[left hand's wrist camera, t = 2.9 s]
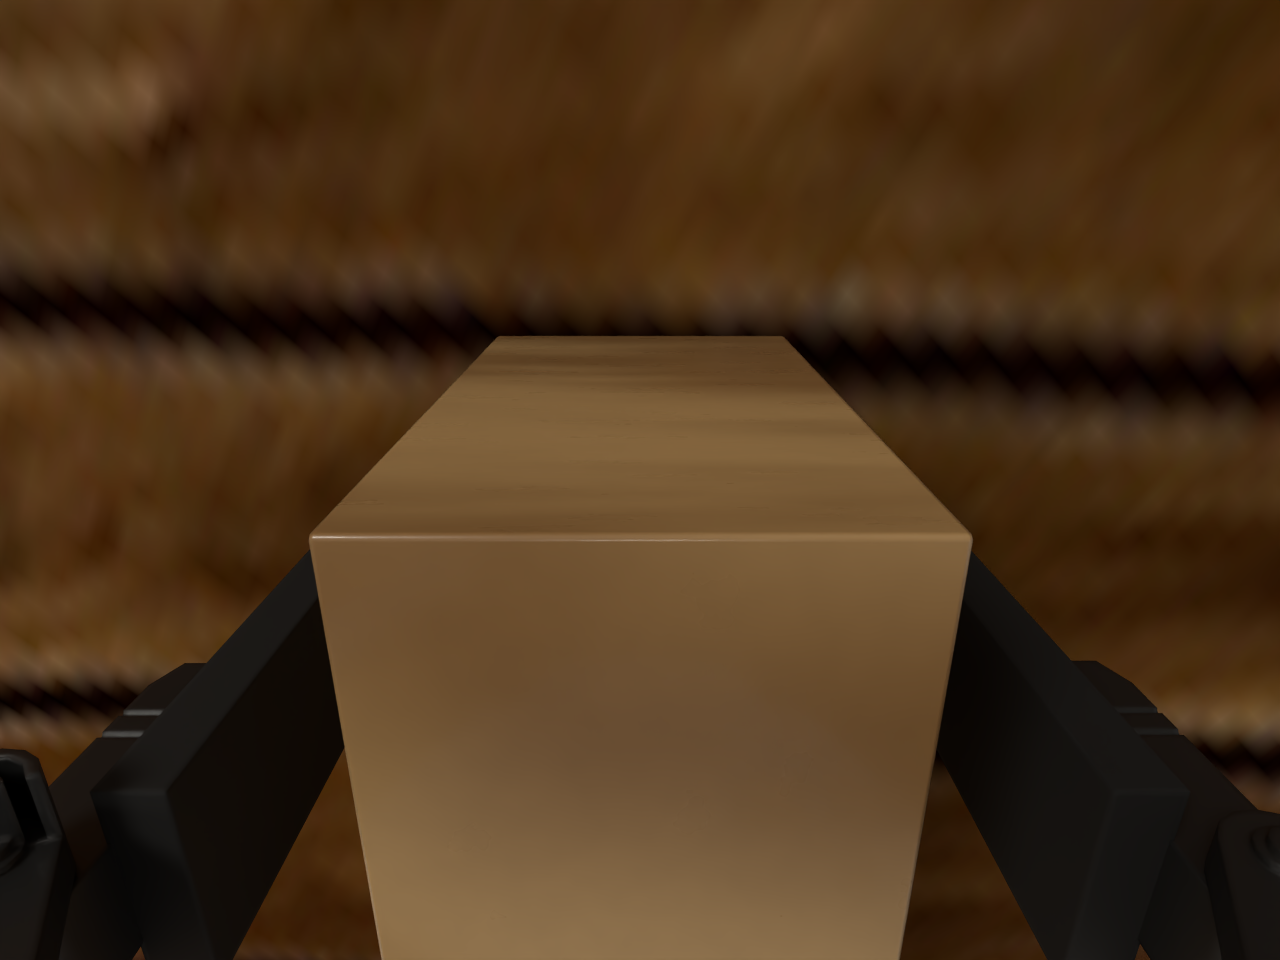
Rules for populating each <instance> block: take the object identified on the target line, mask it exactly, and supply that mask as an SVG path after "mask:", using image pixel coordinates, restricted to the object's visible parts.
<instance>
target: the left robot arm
mask: <svg viewBox="0 0 1280 960" xmlns="http://www.w3.org/2000/svg"><path fill="white" fill-rule="evenodd" d="M344 747H345V746H344V740H343V734H342V729H341V723H340V717H339V711H338V706H337V700H336V694H335V688H334V683H333V677H332V671H331V665H330V660H329V654H328V648H327V642H326V637H325V631H324V625H323V620H322V614H321V608H320V602H319V597H318V591H317V585H316V579H315V574H314V568H313V562H312V556H311V551H310V550H309V551H308V552H307V553H306V554H305V556H304V557H303V558H302V559H301V560H300V561H299V562H298V563H297V564H296V565H295V567H294V568H293V569H292V570H291V571H290V572H289V573H288V574H287V575H286V576H285V577H284V579H283V580H282V581H281V582H280V583H279V584H278V585H277V586H276V587H275V588H274V590H273V591H272V592H271V593H270V594H269V595H268V596H267V597H266V598H265V599H264V601H263V602H262V603H261V604H260V605H259V606H258V607H257V608H256V609H255V610H254V612H253V613H252V614H251V615H250V616H249V617H248V618H247V619H246V620H245V621H244V623H243V624H242V625H241V626H240V627H239V628H238V629H237V630H236V631H235V632H234V634H233V635H232V636H231V637H230V638H229V639H228V640H227V641H226V642H225V643H224V645H223V646H222V647H221V648H220V649H219V650H218V651H217V652H216V653H215V654H214V656H213V657H212V658H211V659H210V660H209V661H208V662H207V663H184V664H183V665H181V666H179V667H178V668H176V669H175V670H173V671H171V672H170V673H168V674H166V675H165V676H163V677H161V678H160V679H158V680H157V681H155V682H153V683H152V684H150V685H149V686H148V687H147V688H146V689H145V690H144V691H143V692H142V693H141V694H140V695H139V696H138V697H137V698H136V699H135V700H134V701H133V702H132V703H131V704H130V705H129V706H128V707H127V708H126V709H125V710H124V714H123V716H118V717H117V718H116V719H115V720H114V721H113V722H112V723H111V724H110V725H109V726H108V727H107V728H106V729H105V730H104V731H103V735H102V737H101V738H96V739H95V740H94V741H93V742H92V743H91V744H90V745H89V746H88V748H87V749H86V750H85V751H84V752H83V753H82V754H81V755H80V756H79V757H78V758H77V759H76V760H75V761H74V762H73V763H72V764H71V765H70V766H69V767H68V768H67V769H66V770H65V771H64V772H63V773H62V774H61V775H60V776H59V777H58V778H57V779H56V780H55V781H54V782H53V783H52V784H51V785H50V786H49V787H48V784H47V781H46V778H45V775H44V773H43V770H42V767H41V764H40V761H39V759H38V758H37V757H35V756H34V755H32V754H30V753H29V752H27V751H26V750H15V749H0V960H132V959H133V957H134V956H135V954H136V953H137V951H138V950H139V948H140V947H141V948H142V951H143V954H144V957H145V960H233V958H234V956H235V954H236V952H237V950H238V948H239V946H240V944H241V943H242V941H243V939H244V937H245V935H246V933H247V931H248V929H249V927H250V926H251V924H252V922H253V920H254V918H255V916H256V914H257V912H258V910H259V908H260V907H261V905H262V903H263V901H264V899H265V897H266V895H267V893H268V891H269V889H270V888H271V886H272V884H273V882H274V880H275V878H276V876H277V874H278V872H279V870H280V869H281V867H282V865H283V863H284V861H285V859H286V857H287V855H288V853H289V852H290V850H291V848H292V846H293V844H294V842H295V840H296V838H297V836H298V834H299V833H300V831H301V829H302V827H303V825H304V823H305V821H306V819H307V817H308V815H309V814H310V812H311V810H312V808H313V806H314V804H315V802H316V800H317V798H318V797H319V795H320V793H321V791H322V789H323V787H324V785H325V783H326V781H327V779H328V778H329V776H330V774H331V772H332V770H333V768H334V766H335V764H336V762H337V760H338V759H339V757H340V755H341V753H342V751H343V749H344ZM936 749H937V751H938V753H939V755H940V757H941V759H942V760H943V762H944V764H945V766H946V768H947V770H948V772H949V774H950V776H951V778H952V779H953V781H954V783H955V785H956V787H957V789H958V791H959V793H960V795H961V797H962V798H963V800H964V802H965V804H966V806H967V808H968V810H969V812H970V814H971V815H972V817H973V819H974V821H975V823H976V825H977V827H978V829H979V831H980V833H981V834H982V836H983V838H984V840H985V842H986V844H987V846H988V848H989V850H990V852H991V853H992V855H993V857H994V859H995V861H996V863H997V865H998V867H999V869H1000V870H1001V872H1002V874H1003V876H1004V878H1005V880H1006V882H1007V884H1008V886H1009V888H1010V889H1011V891H1012V893H1013V895H1014V897H1015V899H1016V901H1017V903H1018V905H1019V907H1020V908H1021V910H1022V912H1023V914H1024V916H1025V918H1026V920H1027V922H1028V924H1029V925H1030V927H1031V929H1032V931H1033V933H1034V935H1035V937H1036V939H1037V941H1038V943H1039V944H1040V946H1041V948H1042V950H1043V952H1044V954H1045V956H1046V958H1047V960H1135V957H1136V954H1137V951H1138V948H1139V945H1140V944H1141V946H1142V947H1143V949H1144V950H1145V952H1146V953H1147V955H1148V956H1149V958H1150V959H1151V960H1280V814H1277V813H1272V812H1266V811H1261V810H1258V809H1257V808H1256V807H1255V806H1254V805H1253V804H1252V803H1251V802H1250V801H1249V800H1248V799H1247V798H1246V797H1245V796H1244V795H1243V794H1242V793H1241V792H1240V791H1239V790H1238V789H1237V788H1236V787H1235V786H1234V785H1233V784H1232V783H1231V782H1230V781H1229V780H1228V779H1227V778H1226V777H1225V776H1224V775H1223V774H1222V773H1221V772H1220V771H1219V770H1218V769H1217V768H1216V767H1215V766H1214V765H1213V764H1212V763H1211V762H1210V761H1209V760H1208V759H1207V758H1206V757H1205V756H1204V755H1203V754H1202V753H1201V752H1200V751H1199V750H1198V749H1197V748H1196V747H1195V746H1194V745H1193V744H1192V743H1191V742H1190V741H1189V740H1188V739H1187V738H1186V737H1185V736H1184V735H1179V733H1178V729H1177V728H1176V727H1175V726H1174V725H1173V724H1172V723H1171V722H1170V721H1169V720H1168V719H1167V718H1166V717H1165V716H1164V715H1163V714H1162V713H1158V712H1157V708H1156V707H1155V706H1154V705H1153V704H1152V703H1151V702H1150V701H1149V700H1148V699H1147V697H1146V696H1145V695H1144V694H1143V693H1142V692H1141V691H1140V690H1139V689H1138V688H1137V687H1136V686H1135V685H1134V684H1133V683H1132V682H1130V681H1128V680H1127V679H1125V678H1123V677H1122V676H1120V675H1118V674H1117V673H1115V672H1113V671H1112V670H1110V669H1108V668H1107V667H1105V666H1104V665H1102V664H1100V663H1099V662H1097V661H1071V660H1070V659H1069V658H1068V657H1067V656H1066V654H1065V653H1064V652H1063V651H1062V650H1061V649H1060V648H1059V647H1058V646H1057V645H1056V643H1055V642H1054V641H1053V640H1052V639H1051V638H1050V637H1049V636H1048V635H1047V634H1046V632H1045V631H1044V630H1043V629H1042V628H1041V627H1040V626H1039V625H1038V624H1037V623H1036V621H1035V620H1034V619H1033V618H1032V617H1031V616H1030V615H1029V614H1028V613H1027V612H1026V610H1025V609H1024V608H1023V607H1022V606H1021V605H1020V604H1019V603H1018V602H1017V601H1016V599H1015V598H1014V597H1013V596H1012V595H1011V594H1010V593H1009V592H1008V591H1007V590H1006V588H1005V587H1004V586H1003V585H1002V584H1001V583H1000V582H999V581H998V580H997V579H996V577H995V576H994V575H993V574H992V573H991V572H990V571H989V570H988V569H987V568H986V566H985V565H984V564H983V563H982V562H981V561H980V560H979V559H978V558H977V557H976V555H975V554H974V553H973V552H972V551H971V554H970V560H969V565H968V571H967V577H966V583H965V588H964V594H963V600H962V605H961V611H960V617H959V623H958V628H957V634H956V640H955V645H954V651H953V657H952V663H951V668H950V674H949V680H948V685H947V691H946V697H945V703H944V708H943V714H942V720H941V725H940V731H939V737H938V743H937V748H936Z"/></svg>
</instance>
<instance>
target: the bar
mask: <svg viewBox="0 0 1280 960" xmlns="http://www.w3.org/2000/svg"><path fill="white" fill-rule="evenodd" d="M972 543H973V538H972V534H971V533H970V532H969V531H968V530H967V529H966V528H965V527H964V526H963V525H962V524H961V522H960V521H959V520H958V519H957V518H956V517H955V516H954V515H953V514H952V513H951V512H950V511H949V510H948V509H947V508H946V507H945V506H944V505H943V504H942V503H941V501H940V500H939V499H938V498H937V497H936V496H935V495H934V494H933V493H932V492H931V491H930V490H929V489H928V488H927V487H926V486H925V485H924V484H923V483H922V482H921V480H920V479H919V478H918V477H917V476H916V475H915V474H914V473H913V472H912V471H911V470H910V469H909V468H908V467H907V466H906V465H905V464H904V463H903V462H902V461H901V459H900V458H899V457H898V456H897V455H896V454H895V453H894V452H893V451H892V450H891V449H890V448H889V447H888V446H887V445H886V444H885V443H884V442H883V441H882V440H881V439H880V437H879V436H878V435H877V434H876V433H875V432H874V431H873V430H872V429H871V428H870V427H869V426H868V425H867V424H866V423H865V422H864V421H863V420H862V419H861V418H860V416H859V415H858V414H857V413H856V412H855V411H854V410H853V409H852V408H851V407H850V406H849V405H848V404H847V403H846V402H845V401H844V400H843V399H842V398H841V397H840V395H839V394H838V393H837V392H836V391H835V390H834V389H833V388H832V387H831V386H830V385H829V384H828V383H827V382H826V381H825V380H824V379H823V378H822V377H821V376H820V374H819V373H818V372H817V371H816V370H815V369H814V368H813V367H812V366H811V365H810V364H809V363H808V362H807V361H806V360H805V359H804V358H803V357H802V356H801V355H800V353H799V352H798V351H797V350H796V349H795V348H794V347H793V346H792V345H791V344H790V343H789V342H788V341H787V340H786V339H785V338H784V337H782V336H499V337H497V338H496V339H495V340H494V341H493V342H492V343H491V344H490V345H489V346H488V347H487V348H486V350H485V351H484V352H483V353H482V354H481V355H480V356H479V357H478V358H477V359H476V360H475V361H474V362H473V363H472V364H471V365H470V366H469V367H468V368H467V370H466V371H465V372H464V373H463V374H462V375H461V376H460V377H459V378H458V379H457V380H456V381H455V382H454V383H453V384H452V385H451V386H450V387H449V388H448V389H447V391H446V392H445V393H444V394H443V395H442V396H441V397H440V398H439V399H438V400H437V401H436V402H435V403H434V404H433V405H432V406H431V407H430V408H429V409H428V410H427V412H426V413H425V414H424V415H423V416H422V417H421V418H420V419H419V420H418V421H417V422H416V423H415V424H414V425H413V426H412V427H411V428H410V429H409V430H408V431H407V433H406V434H405V435H404V436H403V437H402V438H401V439H400V440H399V441H398V442H397V443H396V444H395V445H394V446H393V447H392V448H391V449H390V450H389V451H388V453H387V454H386V455H385V456H384V457H383V458H382V459H381V460H380V461H379V462H378V463H377V464H376V465H375V466H374V467H373V468H372V469H371V470H370V471H369V472H368V474H367V475H366V476H365V477H364V478H363V479H362V480H361V481H360V482H359V483H358V484H357V485H356V486H355V487H354V488H353V489H352V490H351V491H350V492H349V493H348V495H347V496H346V497H345V498H344V499H343V500H342V501H341V502H340V503H339V504H338V505H337V506H336V507H335V508H334V509H333V510H332V511H331V512H330V513H329V514H328V516H327V517H326V518H325V519H324V520H323V521H322V522H321V523H320V524H319V525H318V526H317V527H316V528H315V529H314V530H313V531H312V532H311V533H310V536H309V545H310V551H311V556H312V562H313V568H314V574H315V579H316V585H317V591H318V597H319V602H320V608H321V614H322V620H323V625H324V631H325V637H326V642H327V648H328V654H329V660H330V665H331V671H332V677H333V683H334V688H335V694H336V700H337V706H338V711H339V717H340V723H341V729H342V734H343V740H344V746H345V752H346V757H347V763H348V769H349V774H350V780H351V786H352V792H353V797H354V803H355V809H356V815H357V820H358V826H359V832H360V838H361V843H362V849H363V855H364V861H365V866H366V872H367V878H368V884H369V889H370V895H371V901H372V906H373V912H374V918H375V924H376V929H377V935H378V941H379V947H380V952H381V958H382V960H900V954H901V948H902V943H903V937H904V931H905V925H906V920H907V914H908V908H909V903H910V897H911V891H912V885H913V880H914V874H915V868H916V863H917V857H918V851H919V845H920V840H921V834H922V828H923V823H924V817H925V811H926V805H927V800H928V794H929V788H930V783H931V777H932V771H933V765H934V760H935V754H936V748H937V743H938V737H939V731H940V725H941V720H942V714H943V708H944V703H945V697H946V691H947V685H948V680H949V674H950V668H951V663H952V657H953V651H954V645H955V640H956V634H957V628H958V623H959V617H960V611H961V605H962V600H963V594H964V588H965V583H966V577H967V571H968V565H969V560H970V554H971V548H972Z"/></svg>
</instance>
